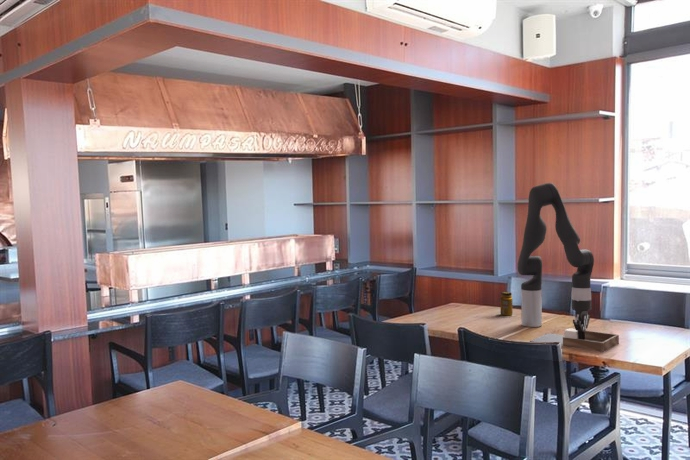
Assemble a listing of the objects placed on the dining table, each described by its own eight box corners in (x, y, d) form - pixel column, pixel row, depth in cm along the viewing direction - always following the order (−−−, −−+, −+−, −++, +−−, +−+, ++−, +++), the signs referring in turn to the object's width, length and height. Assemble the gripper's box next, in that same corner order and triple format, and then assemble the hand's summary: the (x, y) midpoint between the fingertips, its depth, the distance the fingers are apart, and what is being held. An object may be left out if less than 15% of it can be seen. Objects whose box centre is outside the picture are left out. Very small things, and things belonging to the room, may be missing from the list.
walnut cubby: (579, 337, 250) (579, 329, 250) (618, 343, 239) (618, 334, 239) (562, 345, 237) (562, 337, 237) (603, 352, 226) (603, 343, 226)
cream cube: (569, 339, 246) (569, 328, 246) (581, 341, 243) (581, 329, 243) (564, 342, 243) (564, 330, 242) (576, 344, 239) (576, 331, 239)
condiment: (515, 315, 306) (515, 292, 305) (507, 317, 300) (507, 294, 299) (503, 313, 311) (503, 291, 310) (494, 316, 305) (494, 293, 304)
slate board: (548, 335, 260) (548, 333, 259) (619, 345, 239) (619, 343, 239) (529, 343, 246) (529, 340, 246) (603, 354, 226) (603, 352, 226)
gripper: (578, 295, 247) (578, 336, 248) (565, 299, 238) (566, 342, 238) (596, 296, 242) (596, 338, 243) (584, 301, 232) (584, 344, 233)
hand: (581, 340), depth 241 cm, fingers closed
